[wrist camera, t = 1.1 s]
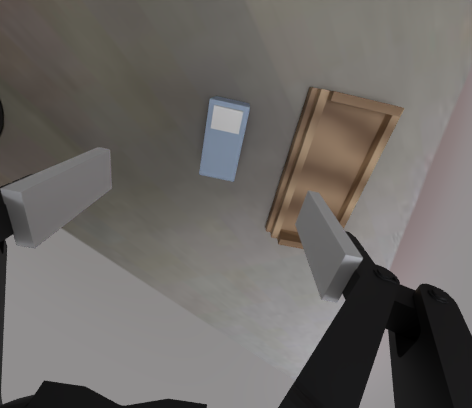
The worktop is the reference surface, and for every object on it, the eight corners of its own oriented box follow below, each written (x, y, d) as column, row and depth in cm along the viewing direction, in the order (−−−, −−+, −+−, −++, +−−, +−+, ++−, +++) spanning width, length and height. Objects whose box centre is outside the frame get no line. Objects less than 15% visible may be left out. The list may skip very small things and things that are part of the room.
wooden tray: (331, 239, 41) (340, 256, 37) (265, 226, 40) (267, 242, 36) (395, 107, 31) (418, 111, 27) (309, 87, 30) (319, 87, 26)
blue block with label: (235, 165, 36) (233, 184, 29) (206, 159, 35) (197, 177, 29) (249, 103, 32) (250, 108, 25) (216, 95, 31) (208, 99, 25)
